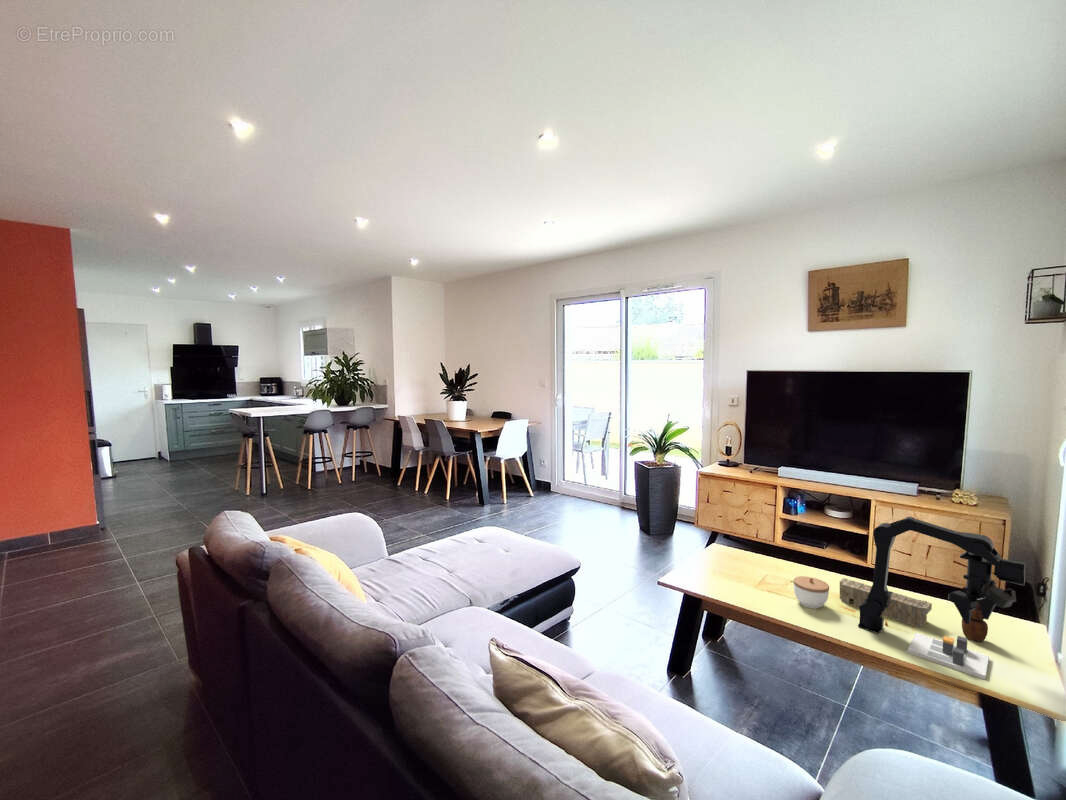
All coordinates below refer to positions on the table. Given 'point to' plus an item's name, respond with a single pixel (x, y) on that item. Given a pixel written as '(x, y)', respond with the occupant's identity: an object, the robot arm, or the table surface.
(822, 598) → the lidded bowl
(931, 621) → the table surface
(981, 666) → the panel
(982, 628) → the wooden figurine
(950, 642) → the block
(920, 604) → the block tower
